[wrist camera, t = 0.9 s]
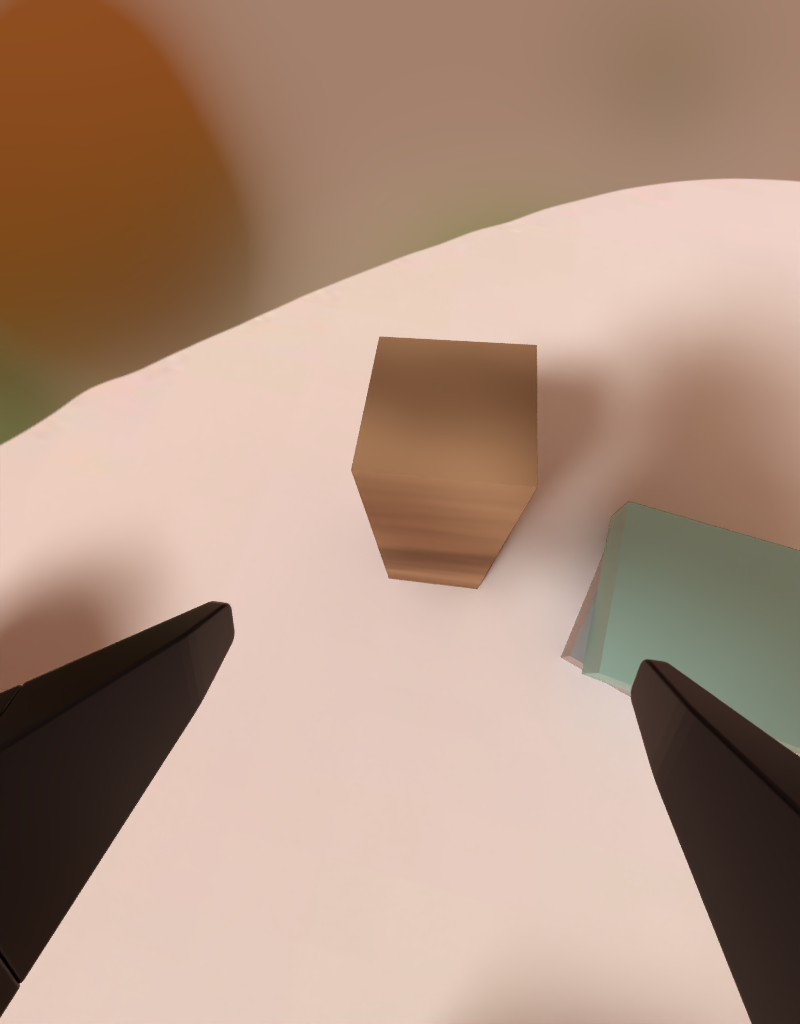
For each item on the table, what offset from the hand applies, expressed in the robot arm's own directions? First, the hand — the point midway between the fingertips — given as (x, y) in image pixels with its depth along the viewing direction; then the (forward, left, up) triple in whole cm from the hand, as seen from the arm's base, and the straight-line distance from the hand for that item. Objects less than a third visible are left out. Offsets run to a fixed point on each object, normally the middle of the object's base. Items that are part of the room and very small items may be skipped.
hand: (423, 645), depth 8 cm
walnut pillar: (+5, -5, -13) cm, 14 cm away
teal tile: (-6, -12, -11) cm, 17 cm away
